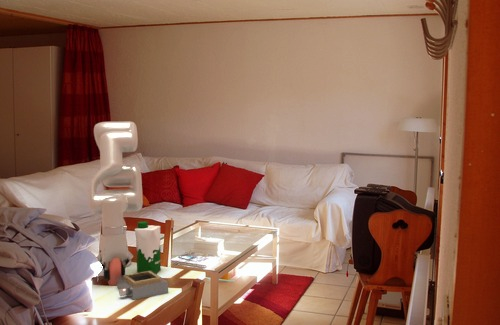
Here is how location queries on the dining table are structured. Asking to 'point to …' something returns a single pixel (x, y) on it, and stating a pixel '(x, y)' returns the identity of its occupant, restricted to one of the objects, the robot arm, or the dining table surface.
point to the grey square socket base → (141, 285)
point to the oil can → (114, 271)
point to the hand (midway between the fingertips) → (114, 277)
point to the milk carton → (148, 247)
